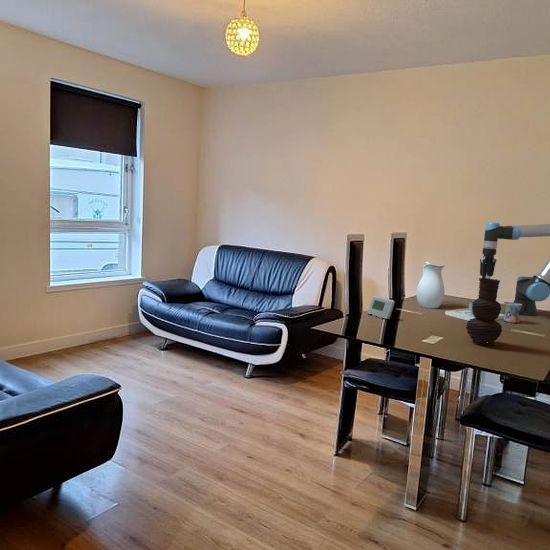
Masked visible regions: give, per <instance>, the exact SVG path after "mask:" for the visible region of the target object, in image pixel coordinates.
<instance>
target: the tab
mask: <svg viewBox="0 0 550 550" xmlns="http://www.w3.org/2000/svg"><path fill="white" fill-rule="evenodd" d="M473 302H474V301H471V302H469V304H468V308H469V309H468V308H467V309H468V310H472V306H473V305H472V304H473ZM472 311H473V310H472Z"/></svg>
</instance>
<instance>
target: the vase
mask: <svg viewBox="0 0 550 550" xmlns="http://www.w3.org/2000/svg"><path fill="white" fill-rule="evenodd" d="M478 280H479V285H478V286H479V287H478V298H476V299H474V301H472V302H473V304H472V305H473V306H472V310H473V311H472V312H473V315H474V317H476V318H473V319H470V320H469V321H468V320H467V322H466V323H465V324H466V327H465V329H466V331H467V334H468V336H469V337H470V339H471V342H472V341H473V342H472V343H473V344H475V343H476V344H475V345H478V344H480V345H479V346H484V345H489V346H491V345H492V344H493V343H494V342H495V341H497V339H498V338H499V337H501V335H502V331H503V329H502V328H503V327H502V325H501V324H500V322H498V321H497V320H495V319H497V318H498V317H499V315H500V314H501V311H502V305H501V304H500V302H499V301H497V297H498V290H499V289H500V288H499V287H500V286H499V285H500V282H501V280H499V279H497V278H495V279H494V278H491V277H490V278H489V279H488V278H482V277H479V278H478ZM487 342H488V343H487Z"/></svg>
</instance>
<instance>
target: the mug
mask: <svg viewBox="0 0 550 550" xmlns="http://www.w3.org/2000/svg"><path fill="white" fill-rule="evenodd" d="M513 302H514V301H513ZM513 302H512V301H511V302H510V301H505V302H504V304H503V305H504V308H505V313H504V315H505V316H504V318H503V319H502V320H503V322H506V323H511V324H518V323H520V319H519V315H520V314H519V310H520V308H521V307H522V304H519V303H513Z"/></svg>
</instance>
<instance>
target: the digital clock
mask: <svg viewBox="0 0 550 550" xmlns="http://www.w3.org/2000/svg"><path fill="white" fill-rule="evenodd" d="M394 307H395V300H393V299H389V298H387V297H382V296H378V295H373V296H372V297H371V301H370V303H369V306H368V309H367V314H368V315H370V314H372V315H375V316H378V317H381V318H384V319H383V320H386V319H389V320H390V319H391V318H392V312H393V310H394ZM372 315H371V316H372ZM375 316H374V317H375ZM378 317H377V318H378ZM390 317H391V318H390ZM381 318H380V319H381Z"/></svg>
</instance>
